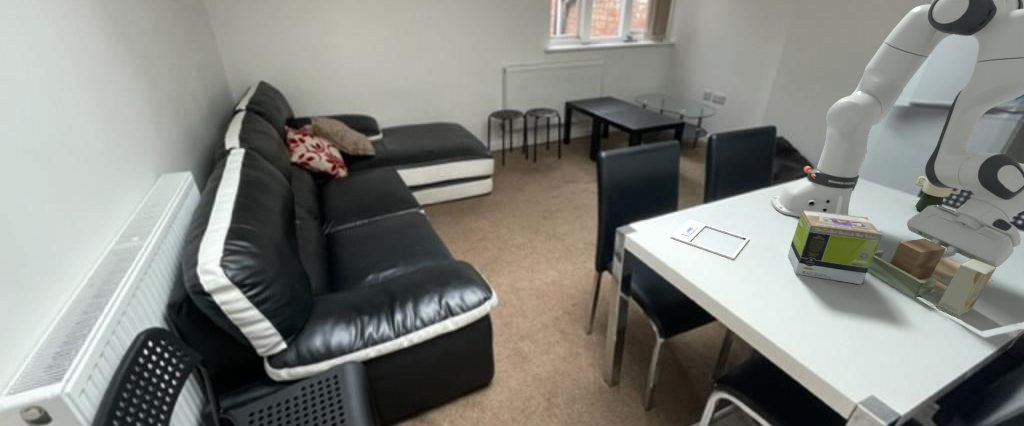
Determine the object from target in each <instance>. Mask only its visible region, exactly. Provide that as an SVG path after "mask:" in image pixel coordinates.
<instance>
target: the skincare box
mask: <svg viewBox="0 0 1024 426" xmlns="http://www.w3.org/2000/svg"><path fill="white" fill-rule="evenodd" d="M960 264H961V265H960V267H959V268H958V270H957V272H956V274H955V275H954V276H952V279H951V280H950V282H949V283H950V284H949V286H948V288H947V289H945V290H944V293H943V295H942V297H941V298H940V300H939V302H938V304H937V306H936V309H937V310H939V311H941V312H943V313H945V314H948V315H950V316H953V317H955V318H957V319H959V317H958V316H960V317H961V316H963V315H964V314H966V313H967V312H969V311H970V310H971V309H972V308H973V307H974V306H975V304H976V302H977V300H978V299H979V297H980V296H981V294H982V293H983V291H984V288H985V287H986V285H987V283H988V282H990V281H989V279H991V278H992V276H993V274H995V271H996V269H997V267H993V266H991V265H988V264H985V263H983V262H980V261H978V260H975V259H969V260H966V261H965V262H963V263H960ZM950 312H951V313H950ZM952 313H953V314H952ZM956 315H957V316H956Z"/></svg>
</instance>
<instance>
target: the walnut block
mask: <svg viewBox="0 0 1024 426" xmlns="http://www.w3.org/2000/svg"><path fill="white" fill-rule="evenodd" d="M946 250H947V248H946V247H944V246H940V245H937V244H935V243H933V242H931V240H928V239H926V238H924V237H923V238H919V239H912V240H906V241H904V240H903V241H900V242H899V244H898V246H897V247H896V250H895V252H894V254H893V257H892V259H891V261H890V262H889V263H890V264H892V265H894V266H895V267H897V268H899V269H901V270H903V271H905V272H906V273H908V274H910V275H912V276H914V277H916V278H917V279H919V280H923V279H928V278H931V276H932V274H933V272H934V270H935V268H936V266H937V264H938V263H939V261H940V259H941V257H942V255H943V253H944V251H946Z"/></svg>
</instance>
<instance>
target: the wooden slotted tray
mask: <svg viewBox="0 0 1024 426" xmlns="http://www.w3.org/2000/svg"><path fill="white" fill-rule="evenodd" d="M884 253H885V251H883V250H881V249H880V250H877V249H876V251H875V254H874V256H873V259H872V261H871V263H870V266H869V268H868V271H867V273H869V274H871V275H873V276H874V277H876V278H878V279H880V280H881V281H883V282H884V283H886V284H888V285H890V286H891V287H893V288H895V289H897V290H898V291H900V292H902V293H903V294H905V295H906V296H909V297H911V298H912V299H916V298H922V296H921V295H924V294H928V293H929V294H930V293H933V292H938V291H946V290H947V288H948V286H949V284H950V282H948V281H946V280H944V278H951V277H954V275H955V274H956V272H957V270H958V268H959V267H960V265H961V264H962V263H958V262H956V261H954V260H952V259H950V258H949V257H946V258H942V259H941V260H940V261H939V263H938V264H937V266H936V268H935V270H934V272H933V274H932V276H931V278H928V279H923V280H919V279H917V278H916V277H914V276H912V275H910V274H908V273H906V272H905V271H903V270H901V269H899V268H897V267H895V266H894V265H892V264H890V262H888V261H886V260H884V259H882V257H883V255H884ZM991 281H993V278H990V279H989V281H988V282H991Z"/></svg>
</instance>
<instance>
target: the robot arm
mask: <svg viewBox="0 0 1024 426" xmlns="http://www.w3.org/2000/svg"><path fill="white" fill-rule="evenodd" d="M953 35H955V36H960V37H961V36H963V37H966V36H967V37H968V36H969V37H971V36H972V37H974V38H975V39H976V40H977V42H978V52H977V56H976V59H975V65H974V69H973V71H972V74H971V76H970V78H969V80H968V81H967V84H966V85H965V86H964V87H963V89H962V90H960V91H959V92H958V93H957V94H956V96H955V97H954V99H953V101H952V104H951V106H950V108H949V111H948V114H947V116H946V119H945V122H944V125H943V126H942V127H943V128H942V130H941V132H940V136H939V138H938V141H937V142H936V143H937V144H936V147H935V148H934V150H933V152H932V154H931V155H930V157H929V158H928V160H927V162H926V165H925V168H924V173H925V177H927V179H928V180H929V182H930V183H931V184H932V185H934V186H936V187H939V188H952V189H953V190H957V189H961V190H963V191H971V193H972V194H973V196H972V197H971V198H970V199H968V200H967V201H966V202H965V203H963V204H962V205H960V207H958V208H957V209H955V210H953V209H951V208H947V207H945V206H943V205H942V206H941V205H937V206H936V205H931V206H927V207H926V208H925V209H924V210H923V211H920V212H918V213H916V214H915V215H913V216H912V217H911V218H909V219H908V220H907V222H906V226H907V228H908V230H909V231H910V232H911V233H914V234H916V235H918V236H919V237H922V238H923V239H924V238H925V239H927V240H929V241H931V242H933V243H935V244H937V245H940V246H942V247H944V248H946V250H945V251H944V253H943V255H942V257H941V259H942V258H949V257H954V256H955V255H957V254H959V255H961V256H964V257H965V258H967V259H969V260H970V259H975V260H978V261H980V262H983V263H985V264H988V265H991V266H993V267H996V268H998V267H1000V266H1001V265H1003V264H1004V262H1005V263H1006V261H1007V260H1008V259H1009V258H1010V257H1011V256H1012V254H1013V253H1014V248H1017V247H1018V246H1019V245H1021V243H1022V241H1021V240H1022V238H1021V235H1020V231H1019V229H1018V227H1016V226H1015V225H1014V224H1013V223H1011V221H1012V219H1013V218H1014V216H1016V215H1017V214H1020V213H1022V212H1024V163H1021V162H1018V161H1017V159H1016V158H1015V157H1013V156H1011V155H1009V154H1006V153H998V152H987V151H986V152H985V151H981V152H979V151H969V146H970V143H971V140H972V139H973V138H972V137H973V135H974V132H975V130H976V127H977V125H978V122H979V121H980V118H981V117H982V116H984V114H985V113H986V112H989V110H991V109H993V108H995V107H997V106H999V105H1001V104H1004V103H1006V102H1009V101H1013V100H1015V99H1017V98H1020V97H1021V96H1023V95H1024V3H1023V0H933V2H932V3H930V4H928V3H927V4H921V5H916V7H914V8H912V9H910V11H909V12H908V13H906V15H905V16H903V18H902V19H901V20H900V21H899V22H898V23H897V24H896V26H894V27H893V29H892V30H891V32H890V33H889V34H888V35H887V36H886V38H885V39H884V41H883V42H882V44H881V45H880V46H879V48H878V49H877V51H876V53H874V55H873V57H872V58H871V59H870V61H869V62H868V64H867V65H866V66H865V68H864V71H863V75H862V77H861V79H860V80H859V83H858V85H857V87H856V88H855V90H854V91H853V92H852V93H851V94H850V95H847V96H844V97H841V98H840V99H839V100H837V101H836V102H835V103H833V104H832V105H831V107H829V109H828V110H827V112H826V116H825V118H826V124H827V126H826V133H825V140H824V146H823V148H822V151H821V155H820V158H819V161H818V164H817V166H816V167H814V168H811V166H809V165H806V166H804V167H803V171H804V172H805V173H806V174H807V177H804V178H802V179H799V180H797V181H793V182H791V183H789V184H786V185H784V187H783V189H782V191H781V193H780V194H779V195H773V196H772V197H771V199H770V203H771V205H772V207H773V208H774V209H775V210H776V211H778V212H779V213H781V214H782V215H788V216H794V217H799V218H800V215H801V212H802V210H808V211H817V212H825V213H834V214H841V215H849V207H850V202H851V197H852V194H853V192H854V190H855V188H856V186H857V184H858V181H859V177H860V175H859V173H860V171H861V167H862V166H863V162H864V160H865V159H866V156H867V153H868V150H867V149H868V148H867V146H868V139H869V135H870V132H871V129H872V127H873V126H875V125H878V124H880V123H881V122H882V121H883V120H884V119H885V118H886V117H887V116H888V114H889V113H890V111H891V110H892V109H893V107H894V105H896V103H897V101H898V99H899V98H900V96H901V95H902V93H903V92H904V90H905V88H906V86H908V84H909V82H910V81H911V79H913V78H914V76H915V74H916V73H917V72H918V71H919V69H920V68H921V66H922V65H924V63H925V62H926V61H927V59H928V58H929V57H930V55H931V54H932V53H933V52H934V50H935V49H936V48H937V46H938V45H939V44H940V43H941V42H942V41H943V40H944V39H946V38H947V37H949V36H953ZM941 259H940V260H941Z"/></svg>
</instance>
